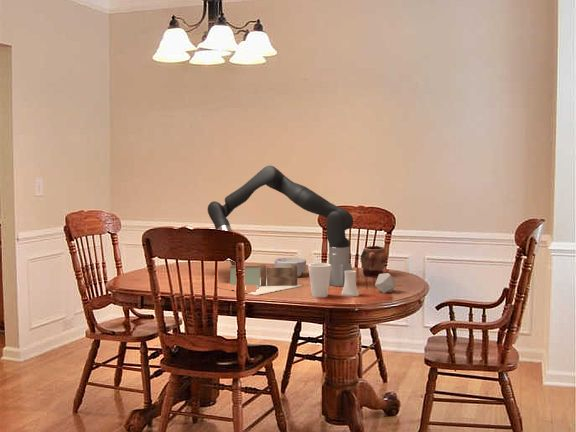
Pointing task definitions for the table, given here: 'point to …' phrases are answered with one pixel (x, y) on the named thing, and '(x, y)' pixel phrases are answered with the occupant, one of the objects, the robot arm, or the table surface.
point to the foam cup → (319, 278)
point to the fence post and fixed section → (279, 276)
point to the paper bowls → (290, 261)
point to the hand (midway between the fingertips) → (235, 266)
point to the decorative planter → (373, 261)
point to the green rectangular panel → (247, 275)
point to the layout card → (270, 288)
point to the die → (385, 283)
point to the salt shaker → (350, 284)
